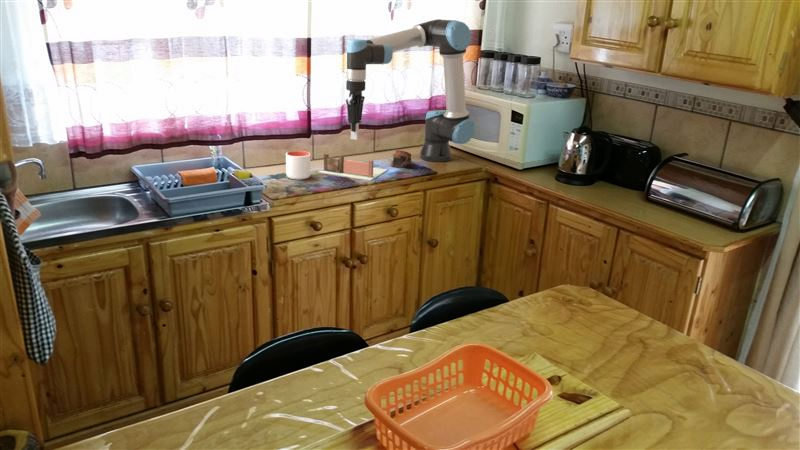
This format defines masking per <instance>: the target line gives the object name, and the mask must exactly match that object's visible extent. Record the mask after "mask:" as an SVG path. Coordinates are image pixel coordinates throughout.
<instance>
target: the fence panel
mask: <svg viewBox="0 0 800 450" xmlns="http://www.w3.org/2000/svg"><path fill="white" fill-rule="evenodd" d="M373 168H374V160H373V159H369V160H368V162H364V161H357V160H350V159H344V169H343V172H347V173H353V174H360V175H367V176H371V177H372V176H373Z"/></svg>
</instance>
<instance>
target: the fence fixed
mask: <svg viewBox="0 0 800 450" xmlns="http://www.w3.org/2000/svg"><path fill="white" fill-rule="evenodd" d="M329 155H330V154H329V153H324V154H323V169H324V170H325V171H328V170H333V171H339V173H344V172H343V169H344V160H345V157H344V156H343V155H340V156H339V157H338V158H336V157H330V156H329Z"/></svg>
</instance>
